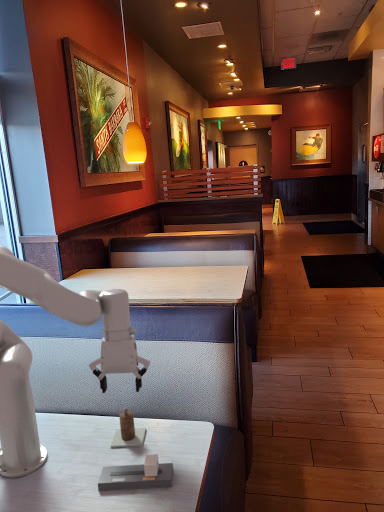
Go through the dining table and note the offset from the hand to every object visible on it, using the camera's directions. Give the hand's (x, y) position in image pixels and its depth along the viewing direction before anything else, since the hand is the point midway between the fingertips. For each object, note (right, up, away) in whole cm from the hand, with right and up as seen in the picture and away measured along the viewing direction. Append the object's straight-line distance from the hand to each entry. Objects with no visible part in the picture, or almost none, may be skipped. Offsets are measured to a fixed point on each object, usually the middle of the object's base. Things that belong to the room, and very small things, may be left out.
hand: (121, 390), depth 116 cm
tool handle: (+2, -14, +3) cm, 15 cm away
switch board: (+6, -18, -15) cm, 24 cm away
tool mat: (+2, -15, +3) cm, 15 cm away
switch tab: (+10, -15, -15) cm, 24 cm away
